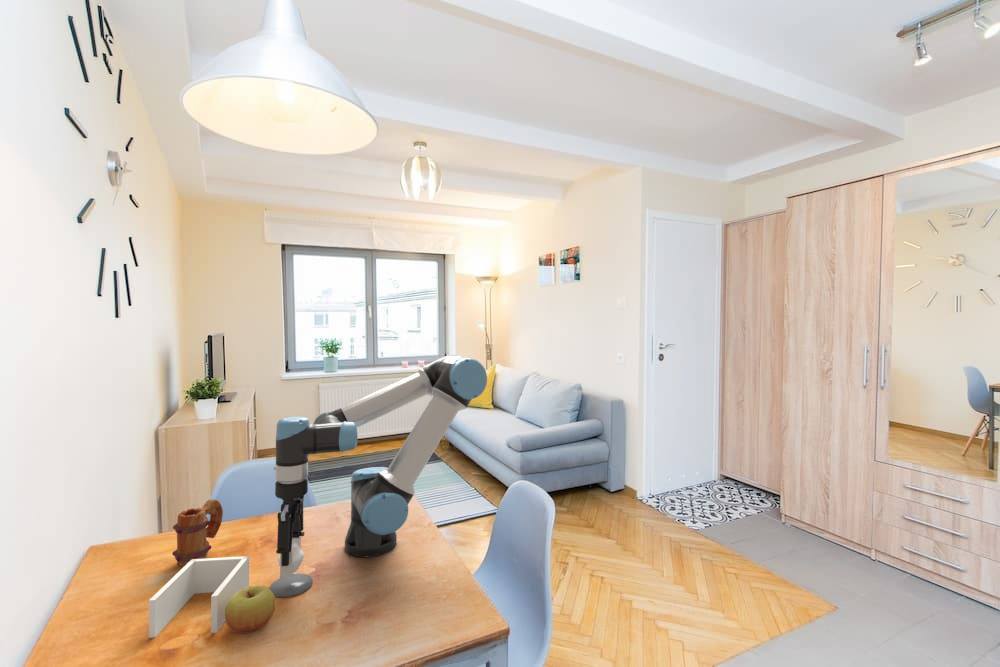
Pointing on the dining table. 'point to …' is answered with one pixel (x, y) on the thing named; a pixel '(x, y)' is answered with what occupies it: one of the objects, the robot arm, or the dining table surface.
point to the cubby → (199, 589)
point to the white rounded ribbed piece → (295, 557)
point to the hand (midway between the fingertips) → (290, 569)
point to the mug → (196, 531)
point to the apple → (250, 609)
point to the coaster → (291, 585)
